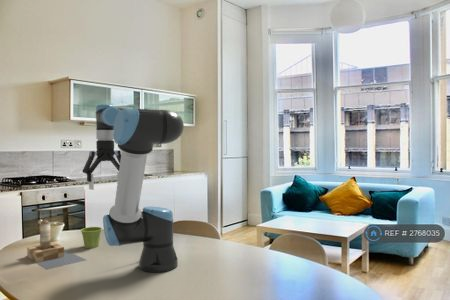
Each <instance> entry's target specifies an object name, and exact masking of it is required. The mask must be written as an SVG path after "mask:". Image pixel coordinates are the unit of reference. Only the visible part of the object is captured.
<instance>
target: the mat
mask: <svg viewBox="0 0 450 300" xmlns="http://www.w3.org/2000/svg"><path fill="white" fill-rule="evenodd" d="M24 257H25V258H27V259H29V260H31V262H34V263H35V264H37V265H38V266H40V267H42V268H43V269H44V270H51V269H54V268H56V269H57V268H59V267H63V266H68V265H72V264H76V263H80V262H85V261H87V259H86V258H83V257H81V256H80V255H77V254H75V253H73V252H71V251H69V250H67V249H64V257H60V258H55V259H51V260H46V261H42V262H35V261H34V260H32V259H30V258H29V257H27V255H24Z"/></svg>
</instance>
